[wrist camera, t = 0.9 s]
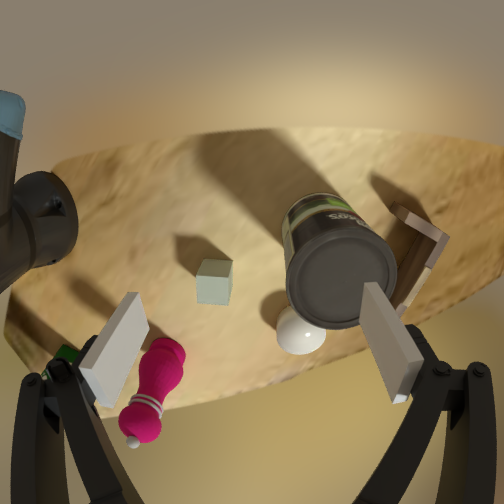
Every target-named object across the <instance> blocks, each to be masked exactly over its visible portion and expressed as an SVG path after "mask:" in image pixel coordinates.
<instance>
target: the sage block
mask: <svg viewBox="0 0 504 504" xmlns="http://www.w3.org/2000/svg"><path fill="white" fill-rule="evenodd" d="M232 287H233V261H231V260H216V259H203V261H202V263H201V266H200V268H199V270H198V272H197V274H196V290H197V303H202V304H214V305H226V306H228V304H229V300H230V295H231V291H232Z"/></svg>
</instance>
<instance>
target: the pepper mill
mask: <svg viewBox="0 0 504 504" xmlns="http://www.w3.org/2000/svg"><path fill="white" fill-rule="evenodd" d="M185 357H186V354H185V351H184V349H183V348H182V347H181V345H180V344H178V343H177V342H175V341H174V340H171V339H168V338H160V339H156V340H155V341H154V342H153V343H152V344H151V346H150V348H149V351H148V352H146V353H145V354H144V355H143V356H142V358H141V361H140V364H139V389H138V391H137V394H135V395H133V396H132V397H131V399H130V401H129V404H128V405H129V406H127V407H125V408H124V409H123V410H122V411H121V413H120V415H119V420H118V422H119V427H120V429H121V431H122V432H123V434H124V435H125V436H127V437H128V438H127V440H126V442H127V445H128V446H129V447H131V448H137V447H138V446H139V444H140V443H148V442H151V441H153V440H155V439H156V438H157V437H158V435H159V434H160V432H161V427H162V426H161V421H160V418H161V417H162V413H163V407H162V403H163V401H164V399H165V397H166V395H167V394H168V393H169V392H170V391H171V390H173V389H174V388H175V387H176V386H177V385H178V384H179V382H180V381H181V378H182V376H183V367H182V366H183V363H184V361H185Z"/></svg>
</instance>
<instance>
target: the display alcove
mask: <svg viewBox="0 0 504 504" xmlns="http://www.w3.org/2000/svg"><path fill="white" fill-rule="evenodd" d="M390 212H391V213H392V214H394V215H395V216H396V217H398V218H399V219H400V220H402V221H403V222H404V223H406V224H408V225H409V226H411V227H413V228H415V229H416V230H418V231H420V232H419V234H418V236H417V238H416V240H415V241H414V243H413V245H412V247H411V249H410V250H409V252H408V254H407V255H406V257H405V259H404V261H403V262H402V264H401V266H400V267H399V269H398V271H397V281H396V285H395V288H394V291H393V293H392V295H391V297H390V299H389V302H390V303H391V305H392V306H393V308H394V310H395V311H396V313H397V314H398V316H399V318H400V317H401V316H402V314H403V313H404V311H405V310H406V309H407V307H409V305H410V304H411V302H412V301H413V299H414V298H415V296H416V295H417V293H418V292H419V290H420V288H421V287H422V285H423V284H424V282H425V281H426V279H427V277H428V276H429V274H430V272H431V271H432V268H433V266H434V265H435V263H436V261H437V260H438V258H439V256H440V254H441V253H442V251H443V249H444V247H445V246H446V244H447V242H448V240H449V238H450V236H448V235H447V234H446V233H444V232H443V231H441V230H440V229H439V228H437V227H436V226H434V225H433V224H431V223H430V222H428V221H426V220H425V219H423V218H422V217H420V216H418V215H417V214H415V213H413V212H412V211H410V210H408V209H407V208H405V207H403V206H401V205H400V204H398V203H396V202H395V201H394V203H393V205H392V207H391V209H390Z"/></svg>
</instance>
